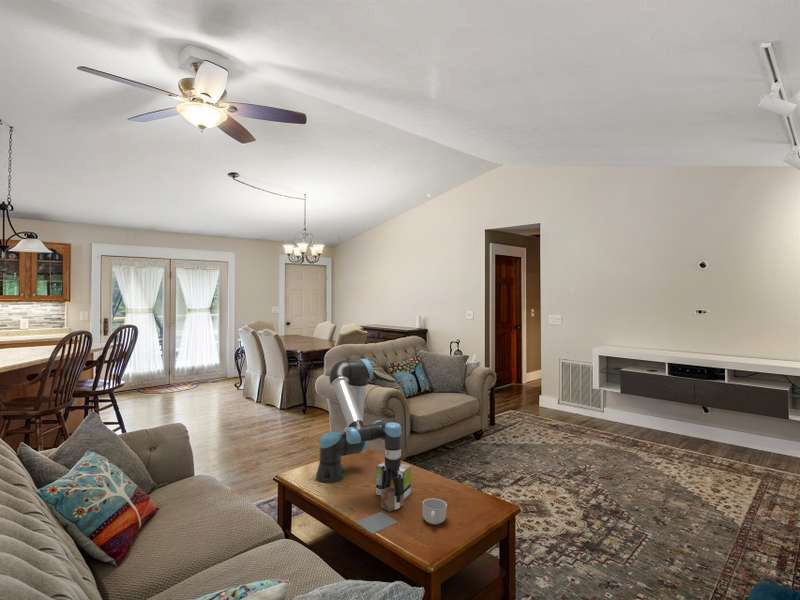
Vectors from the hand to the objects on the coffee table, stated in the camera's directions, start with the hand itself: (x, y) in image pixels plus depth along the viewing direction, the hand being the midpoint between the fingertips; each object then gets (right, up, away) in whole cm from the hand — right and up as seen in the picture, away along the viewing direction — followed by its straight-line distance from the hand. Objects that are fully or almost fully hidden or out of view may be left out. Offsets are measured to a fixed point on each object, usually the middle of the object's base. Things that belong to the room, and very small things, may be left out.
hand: (392, 505), depth 205 cm
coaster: (-6, -1, -14) cm, 15 cm away
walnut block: (0, 0, 0) cm, 0 cm away
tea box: (0, -1, +13) cm, 13 cm away
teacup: (+18, -1, -14) cm, 23 cm away
